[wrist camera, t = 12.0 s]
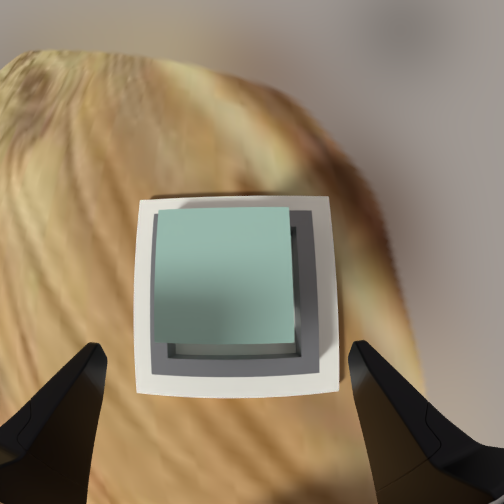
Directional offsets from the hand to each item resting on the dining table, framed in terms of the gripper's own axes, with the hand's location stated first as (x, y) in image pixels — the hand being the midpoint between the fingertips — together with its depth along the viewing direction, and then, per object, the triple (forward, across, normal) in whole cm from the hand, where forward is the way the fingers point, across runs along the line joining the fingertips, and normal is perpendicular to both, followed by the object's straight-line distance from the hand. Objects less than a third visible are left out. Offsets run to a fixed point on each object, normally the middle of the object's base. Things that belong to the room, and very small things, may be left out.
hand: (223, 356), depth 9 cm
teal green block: (+8, 0, +4) cm, 9 cm away
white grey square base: (+8, 0, +4) cm, 9 cm away
